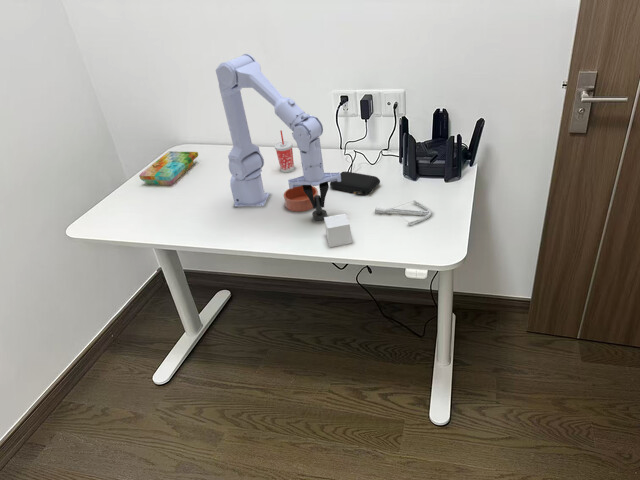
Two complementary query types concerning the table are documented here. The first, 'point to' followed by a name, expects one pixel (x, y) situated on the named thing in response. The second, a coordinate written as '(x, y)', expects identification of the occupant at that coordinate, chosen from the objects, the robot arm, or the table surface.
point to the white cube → (338, 230)
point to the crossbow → (407, 212)
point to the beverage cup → (285, 155)
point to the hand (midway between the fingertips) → (318, 206)
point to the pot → (298, 199)
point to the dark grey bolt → (318, 210)
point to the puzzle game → (168, 168)
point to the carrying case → (356, 183)
